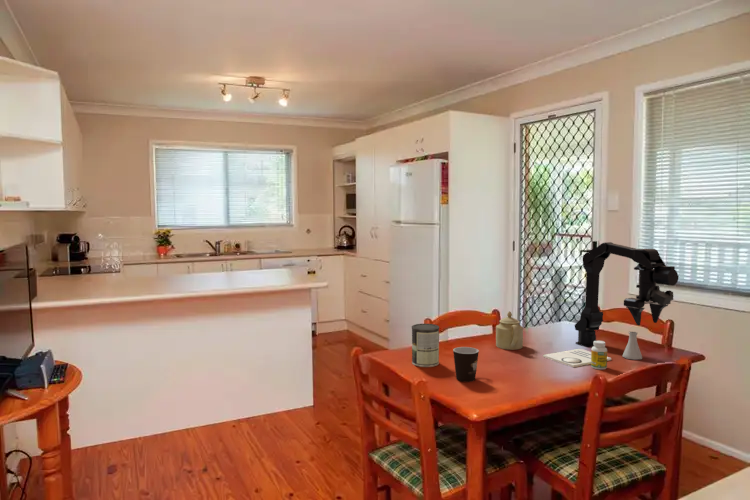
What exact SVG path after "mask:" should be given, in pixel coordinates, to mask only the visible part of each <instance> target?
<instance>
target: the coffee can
mask: <svg viewBox="0 0 750 500" xmlns="http://www.w3.org/2000/svg"><path fill="white" fill-rule="evenodd" d="M439 332H440V326H439V325H437V324H433V323H416V324H413V325H412V326H411V353H412V354H411V364H412V365H414V366H416V367H419V368H432V367H436V366H438V365H439V364H440V362H439V361H440V357H439V355H440V353H439V352H440V333H439Z"/></svg>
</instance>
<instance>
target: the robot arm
mask: <svg viewBox="0 0 750 500" xmlns="http://www.w3.org/2000/svg"><path fill="white" fill-rule="evenodd" d="M611 255H615V256H620V257H624V258H627V259H628V258H629V259H631V260H632V261H633V262H634V263H636V264H637V265H636V266H634V267H633V270H635V271H638V284H636V286H635V287H636V288H637V289H638V295H636V296H635V297H628V298H625V299H624V300H623V306H624V307H626V309H628V311H629V312H630V314H631V315H632V317H633V320H634V322H635V324H636V326H641V319H642V312H643V311H644V310H645V309H646V308H645V306H646V305H648V304H649V308H650V313H651V314H650V315H651V318H652V323H653V324H654V323H655V324H657V323H658V320H659V318H660V316H661V314H662V312H663V310H664V309H665V308H666V307H668V306H669V305H671V304H672V303H671V301H673V300H674V291H672V290H670V289H669V290H666V291H662V290H661V289H660V286H659V285H665V286H675V285H677V283H678V281H679V278H680V277H679V274H678V272H677V270H675V269H676V268H675V266H671V265H670V266H669V265H666V263H665V261H664V260H663V259H662V257H661V256H660V252H659V251H658V250H657V249H656V248H636V247H630V246H627V245H623V244H617V243H613V242H611V241H609V242H607V241H606V242H602V243H600V244H599V245H598V246H595V247H594V248H593V249H591V250H589V251H587V252H585V253H584V254H582V267H583V268H584V271H585V272H586V278H585V281H586V283H585V284H586V285H585V299H584V300H585V303H584V307H583V309H582V311H581V313H580V318H579V320H578V321H577V322H576V323H575V324H574V329H575V331H577V333H578V338H577V340H578V341H575V344H576V345H580V346H584V347H588V348H589V347H593V346H594V345H593V342H594V341H597V335H596V331H599V329H600V326H601V325H602V324H603V322H604V312H603V311H601V310H600V309H599V294H600V293H599V292H600V273H601V272H602V270H603V268H604V266H605V261H606V260H607V259H608V258H609V257H610V256H611Z"/></svg>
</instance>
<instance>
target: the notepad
mask: <svg viewBox="0 0 750 500" xmlns="http://www.w3.org/2000/svg"><path fill="white" fill-rule="evenodd" d="M542 357H543V358H545V359H548V360H551V361H553V362H556V363H559V364H562V365H565V366H568V367H570V368H577V367H582V366H583V367H584V366H587V365H591V351H589V350H586V349H583V348H576V349H570V350H565V351H558V352H552V353H547V354H543V355H542ZM608 361H612V357H609V356H607V362H608Z"/></svg>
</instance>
